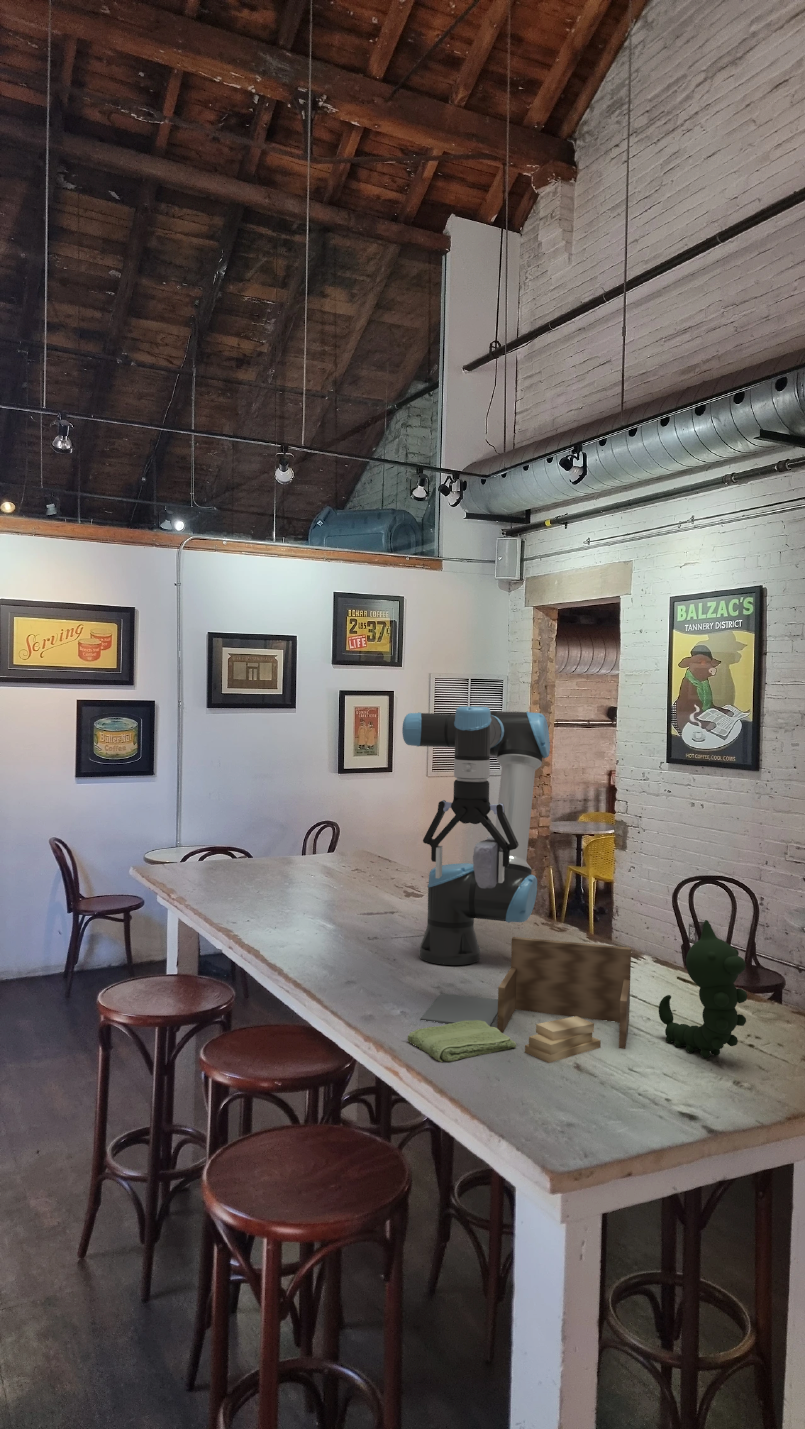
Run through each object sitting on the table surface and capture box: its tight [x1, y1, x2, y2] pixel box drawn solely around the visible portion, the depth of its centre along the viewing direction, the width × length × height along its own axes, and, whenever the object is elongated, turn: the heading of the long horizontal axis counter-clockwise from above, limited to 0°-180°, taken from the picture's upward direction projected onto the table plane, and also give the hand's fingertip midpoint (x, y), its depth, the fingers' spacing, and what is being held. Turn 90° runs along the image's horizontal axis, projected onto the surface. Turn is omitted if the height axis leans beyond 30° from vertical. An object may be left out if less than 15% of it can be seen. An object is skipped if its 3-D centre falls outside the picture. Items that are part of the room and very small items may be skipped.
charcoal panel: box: [419, 992, 498, 1027], centre depth 194 cm, size 14×18×1 cm
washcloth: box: [407, 1020, 517, 1063], centre depth 175 cm, size 13×18×3 cm
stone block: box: [472, 835, 502, 888], centre depth 196 cm, size 12×5×10 cm, turn 156°
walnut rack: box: [496, 936, 632, 1050], centre depth 187 cm, size 24×16×15 cm, turn 74°
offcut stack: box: [524, 1016, 602, 1064], centre depth 174 cm, size 14×6×5 cm, turn 127°
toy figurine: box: [658, 919, 748, 1059], centre depth 175 cm, size 9×19×25 cm, turn 31°
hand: (469, 879), depth 198 cm, fingers open, 13 cm apart
